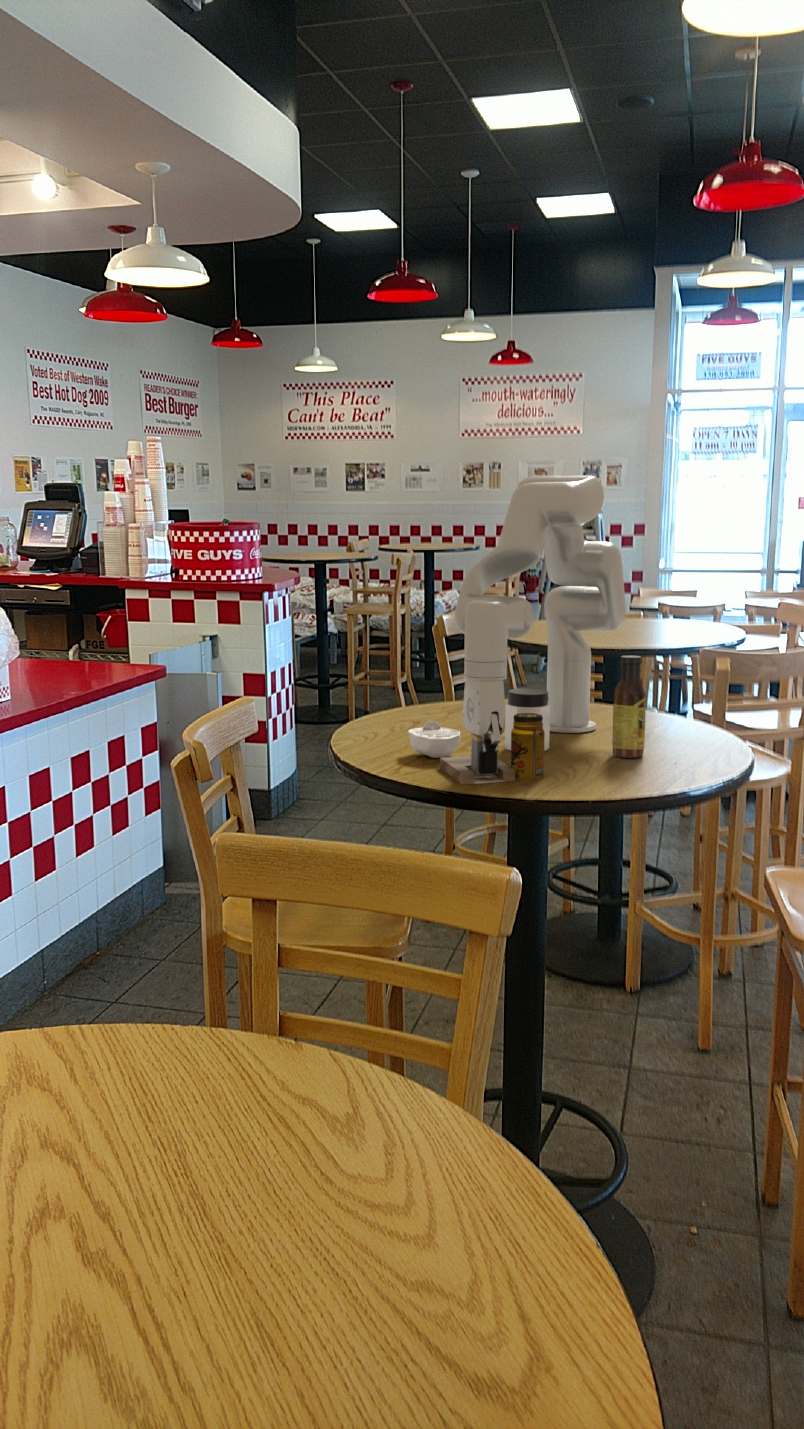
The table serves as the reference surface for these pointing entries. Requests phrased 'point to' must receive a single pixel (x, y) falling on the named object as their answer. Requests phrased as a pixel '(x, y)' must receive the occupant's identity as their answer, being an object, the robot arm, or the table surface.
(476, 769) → the grey and orange block
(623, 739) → the sauce bottle
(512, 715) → the jar
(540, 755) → the condiment
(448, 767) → the notched board
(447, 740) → the cell model
